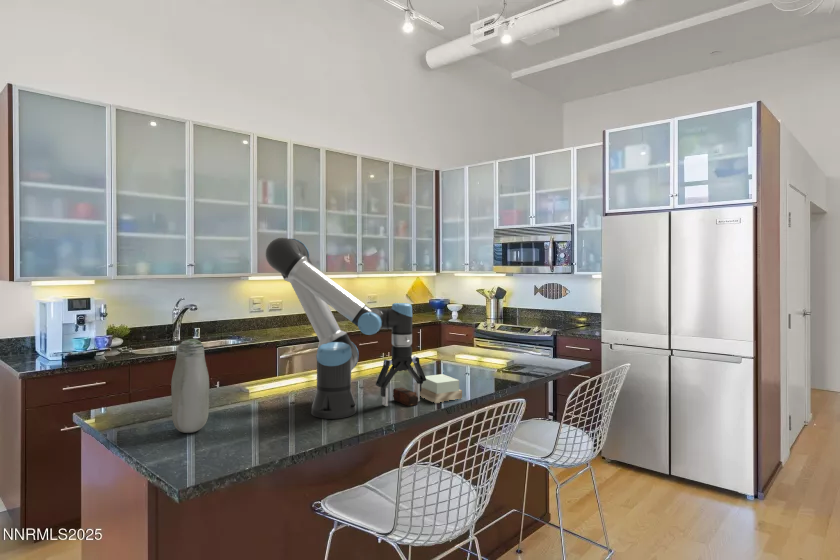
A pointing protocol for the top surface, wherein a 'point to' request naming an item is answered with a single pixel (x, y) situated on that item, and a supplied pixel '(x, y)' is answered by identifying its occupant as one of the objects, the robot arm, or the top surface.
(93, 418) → the top surface
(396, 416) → the top surface
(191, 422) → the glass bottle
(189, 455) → the top surface
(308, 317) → the robot arm
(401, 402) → the brick
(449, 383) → the top block
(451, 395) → the base block
